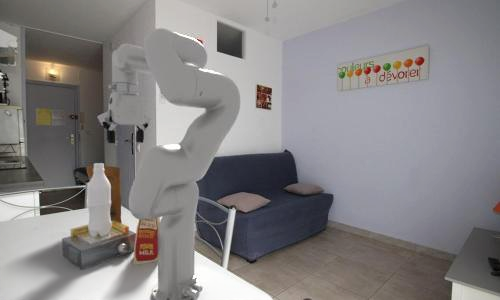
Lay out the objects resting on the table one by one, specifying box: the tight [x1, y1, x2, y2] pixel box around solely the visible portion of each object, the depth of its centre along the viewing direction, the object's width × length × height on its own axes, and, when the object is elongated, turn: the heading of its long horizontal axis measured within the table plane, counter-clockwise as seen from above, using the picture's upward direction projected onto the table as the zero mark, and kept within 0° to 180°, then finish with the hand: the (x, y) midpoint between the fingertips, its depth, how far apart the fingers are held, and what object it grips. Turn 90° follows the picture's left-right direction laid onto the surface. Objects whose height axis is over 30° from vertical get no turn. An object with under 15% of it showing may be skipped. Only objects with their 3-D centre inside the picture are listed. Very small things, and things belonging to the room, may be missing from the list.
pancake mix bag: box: [86, 164, 123, 224], centre depth 113 cm, size 7×19×28 cm, turn 63°
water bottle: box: [86, 162, 112, 237], centre depth 92 cm, size 7×7×25 cm
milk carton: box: [133, 217, 161, 265], centre depth 90 cm, size 9×9×20 cm
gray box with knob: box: [61, 220, 136, 270], centre depth 92 cm, size 18×18×9 cm
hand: (126, 142), depth 87 cm, fingers open, 9 cm apart
